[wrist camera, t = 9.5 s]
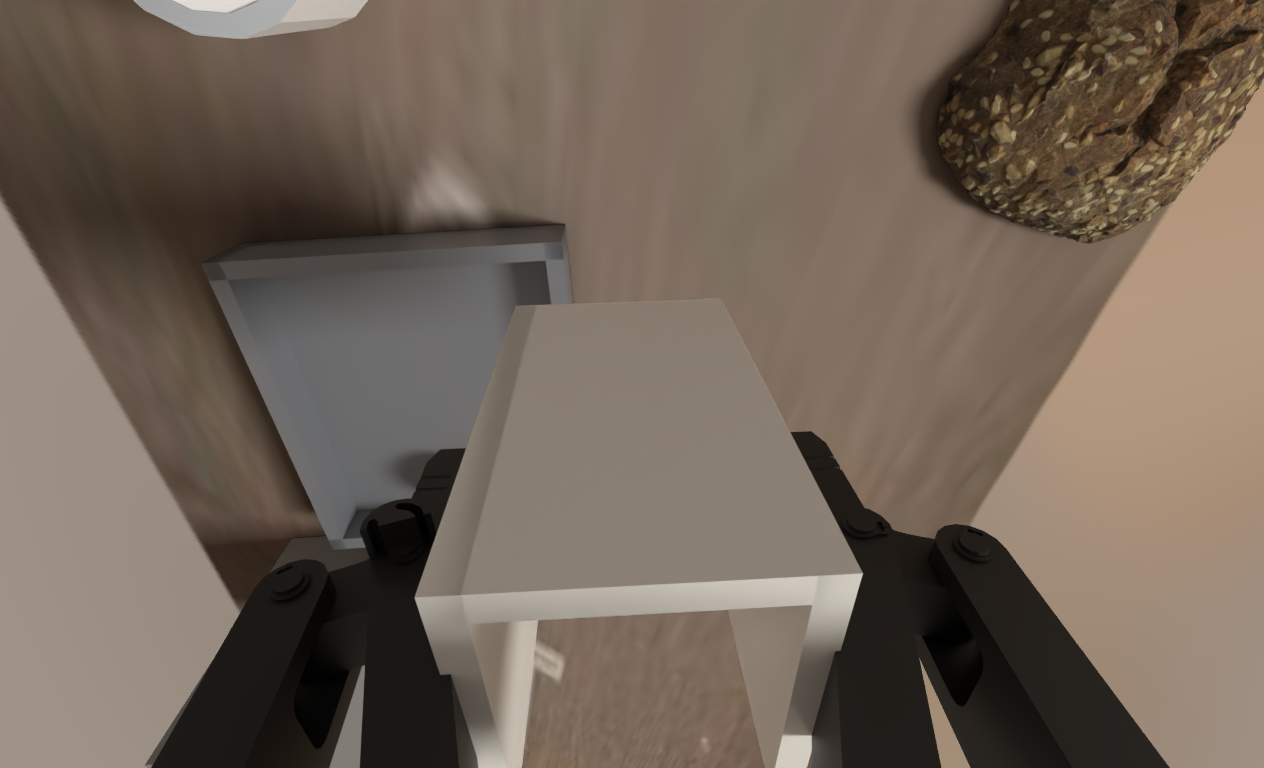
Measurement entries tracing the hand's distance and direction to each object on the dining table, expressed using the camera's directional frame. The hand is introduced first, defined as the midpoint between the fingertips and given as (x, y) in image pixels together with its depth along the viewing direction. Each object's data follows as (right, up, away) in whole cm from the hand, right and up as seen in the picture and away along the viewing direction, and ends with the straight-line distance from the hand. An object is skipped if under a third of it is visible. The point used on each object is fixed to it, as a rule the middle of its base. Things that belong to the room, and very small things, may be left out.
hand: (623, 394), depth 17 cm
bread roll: (+21, +14, +8) cm, 27 cm away
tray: (-10, 0, +14) cm, 17 cm away
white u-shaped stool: (0, 0, 0) cm, 0 cm away
